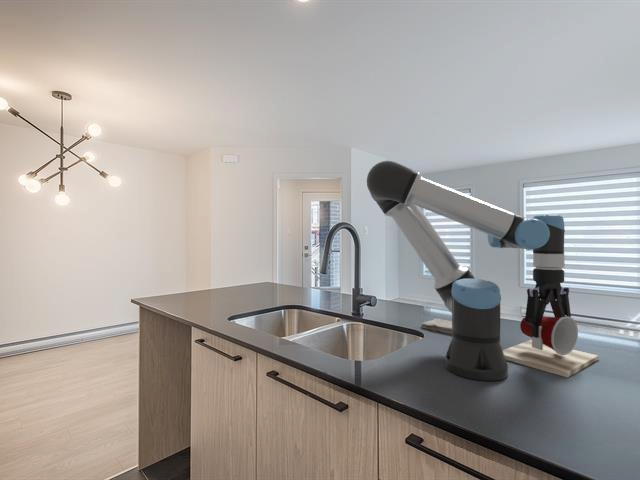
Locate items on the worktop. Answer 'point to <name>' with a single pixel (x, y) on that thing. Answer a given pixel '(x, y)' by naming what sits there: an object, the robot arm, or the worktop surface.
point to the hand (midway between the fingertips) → (548, 346)
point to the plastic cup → (556, 333)
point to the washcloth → (438, 325)
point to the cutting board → (549, 359)
